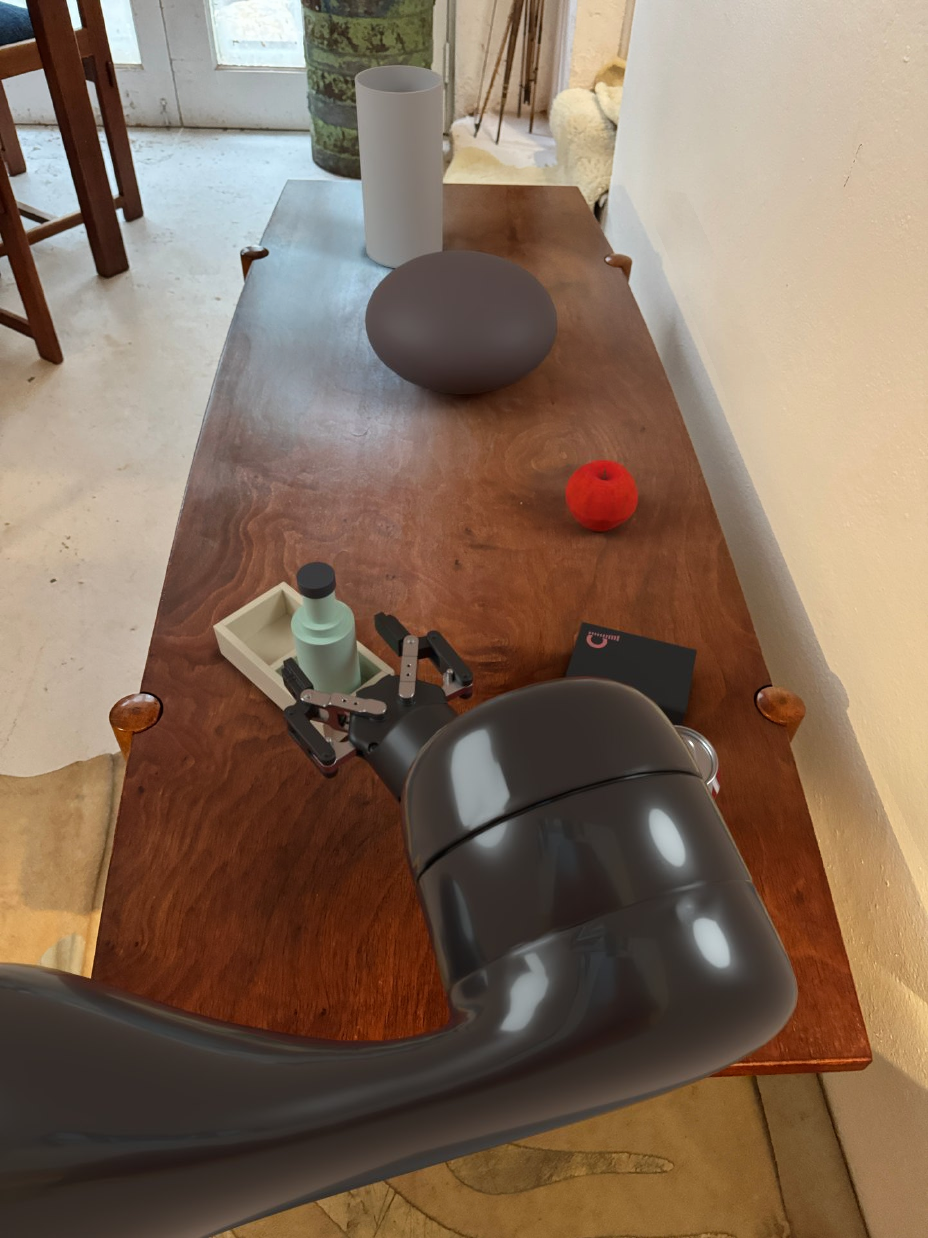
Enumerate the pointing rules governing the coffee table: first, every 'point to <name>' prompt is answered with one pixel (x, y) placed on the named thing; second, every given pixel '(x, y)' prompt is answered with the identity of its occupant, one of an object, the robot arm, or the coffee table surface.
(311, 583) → the bottle
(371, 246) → the cylinder vase
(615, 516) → the apple
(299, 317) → the coffee table surface
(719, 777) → the soda can
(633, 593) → the coffee table surface
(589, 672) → the electronic device
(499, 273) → the flattened ellipsoid
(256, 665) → the cream rectangular tray
